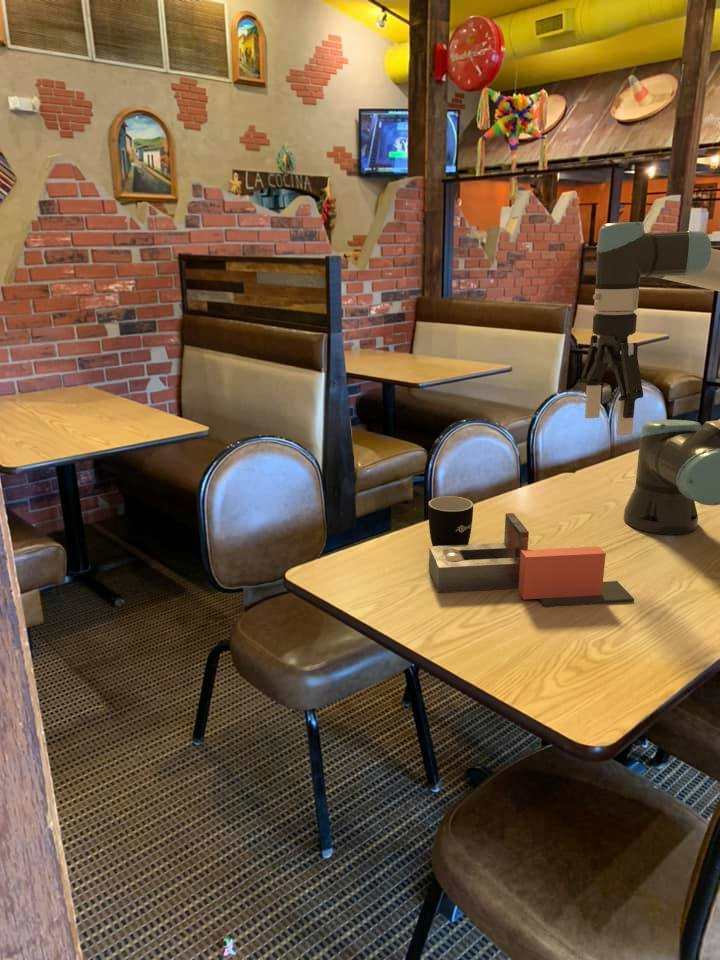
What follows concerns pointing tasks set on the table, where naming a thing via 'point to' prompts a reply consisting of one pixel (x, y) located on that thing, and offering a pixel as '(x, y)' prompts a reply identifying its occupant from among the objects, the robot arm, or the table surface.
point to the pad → (593, 597)
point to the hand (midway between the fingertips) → (607, 425)
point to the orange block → (561, 572)
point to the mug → (450, 520)
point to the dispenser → (480, 562)
